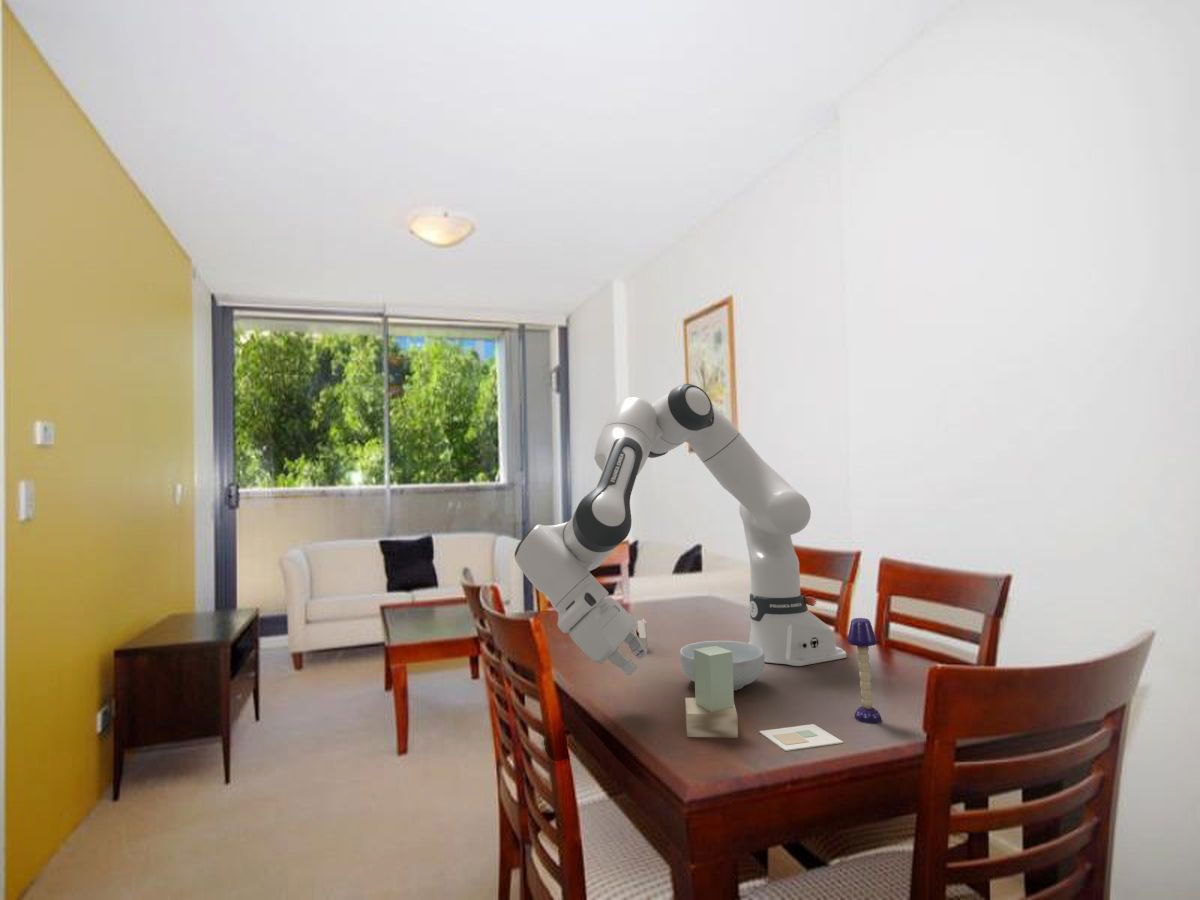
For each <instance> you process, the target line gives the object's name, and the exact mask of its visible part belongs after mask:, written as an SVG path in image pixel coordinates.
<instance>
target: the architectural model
mask: <svg viewBox="0 0 1200 900" xmlns="http://www.w3.org/2000/svg"><path fill="white" fill-rule="evenodd" d="M636 624H637V628H635V632H634V633H635V634H636V635H637V637H638V638H639V640H640V642H641V644H642V645H643V646H644V648H645V649H646V650H647V651H648V628H647V627H648V626H647V625H648V624H647V621H646V620H645V619H644V618H642V620H636Z"/></svg>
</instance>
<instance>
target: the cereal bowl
mask: <svg viewBox="0 0 1200 900" xmlns="http://www.w3.org/2000/svg"><path fill="white" fill-rule="evenodd" d="M711 646H718V647H721V648H724V649H726V650H729V651H732V658H733V690H735V691H739V690H741V689H743V688H744V686H748V685H750V684H751V683H753V682H755V681H756V680H757V679H759V678H760V676H761V675H762V674H763V672H764V668H765V662H764V660H765V659H764V651H763V649H762V648H760V647H759V646H756V645H753V644H749V642H744V641H735V640H707V641H706V640H705V641H699V642H693V643H690V644H686V645H684V646H683V647H681V648H680V650H679V661H680V664H681V668H682V671H683V673H684V674H685V676H686V677H687V678H689V680H691V681H692V682H694V683H695V670H694V649H699V648H705V647H711ZM738 689H739V690H738Z"/></svg>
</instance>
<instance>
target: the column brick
mask: <svg viewBox="0 0 1200 900" xmlns="http://www.w3.org/2000/svg"><path fill="white" fill-rule="evenodd" d="M694 670H695V682H694V694H695V697H694V698H695V704H697V705H699V706H701V707H703V708H705V709H707V710H709V711H711V712H714V711H719V710H723V709H727V708H732V707H734V705H735V699H734V698H735V697H734V696H735V695H734V694H735V693H734V692H735V691H734V690H733V658H732V651H729V650H726V649H724V648H721V647H718V646H711V647H705V648H699V649H694Z"/></svg>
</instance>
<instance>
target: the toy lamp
mask: <svg viewBox="0 0 1200 900" xmlns="http://www.w3.org/2000/svg"><path fill="white" fill-rule="evenodd" d="M877 642H878V641H877V637H876V635H875V632H874V628H873V625H872V623H871V621H870V619H868V618H865V617H855V618H854V617H853V618H852V619H851V620H850V625H849V630H848V636H847V643H848V645H851V646H854V647H855V646H856V647H857V648H856V649H857V651H858V655H857V658H858V659H857V660H858V669H859V674H858V675H859V679H860V681H859V687H860V696H861V703H860V704H861V706H859V707H858V708H857V709H856V710H855V712H854V718H855V719H856V721H859V722H862V723H866V724H875V723H880V722H881V721H882V716H881V713H880V712H879V710H877V709H876V708H875V707H873V704H874V703H873V700H872V697H873V694H872V692H873V691H872V690H871V689H872V682H871V673H870V669H871V666H870V655H869V647H871V646H875V645H877Z"/></svg>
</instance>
